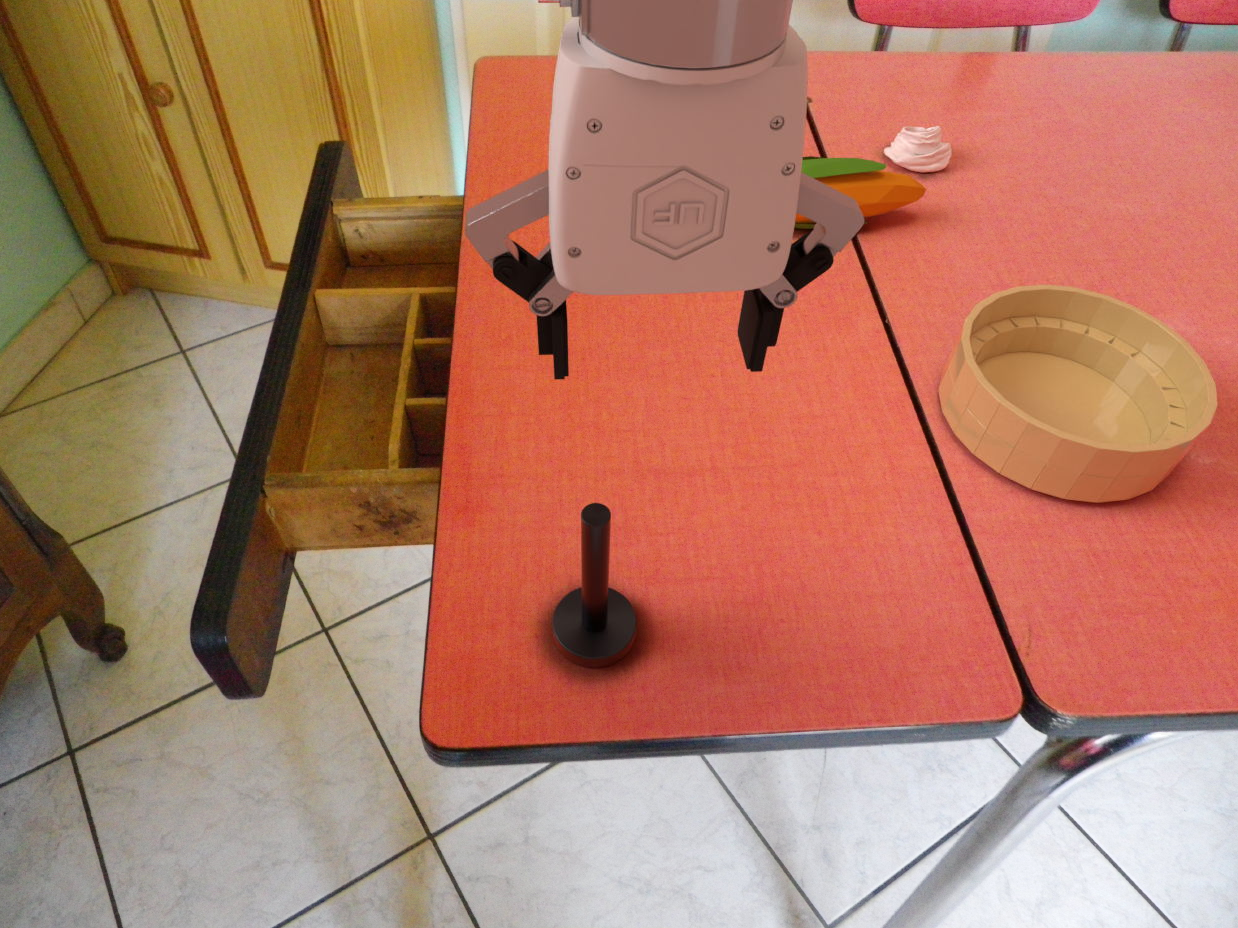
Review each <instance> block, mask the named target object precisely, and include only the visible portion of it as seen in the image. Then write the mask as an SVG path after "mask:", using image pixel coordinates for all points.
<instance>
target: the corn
mask: <svg viewBox="0 0 1238 928" xmlns="http://www.w3.org/2000/svg"><path fill="white" fill-rule="evenodd" d="M886 168H887V164H886V163H883V162H879V161H876V160H870V159H864V158H859V157H821V156H814V155H813V156H812V155H810V156H809V155H808V156H803V159H802V170H801V172H802V173H804V174H806V175H808V176H810V177H812V178H814V179H816V180H818V181H820V182H822V183H824V184H826V185H828V186H830V187H832V188H834V189H835V190H837V191H839V192H841V193H843V194H845V195H847V196H849V197H851V198H853V199H854V200H856V202H857V204H858V206H859V208H860V210H861V212H862V214H863V217H864V219H866V218H870V217H871V218H872V217H875V216H879V215H880V216H881V215H884V214H886V213H889V212H893V211H894V210H898V209H900V208H902V207H905V206H908V205H910V204H913V203H915V202H917V201H919V200H920V199H921V198H923V197H924V195H925V194H926V191H927V188H926V187H925V186H924V185H923V184H922V183H920V182H919V181H917V180H916V179H915V178H913V177H912V176H911V175H909V174H903V173H898V172H892V171H888V170H887V171H886V170H885V169H886ZM867 224H868V222H867V221H864V224H863V225H867ZM815 225H816V222H814V221H812V220H810V219H808V218H806V217H804V216H802V215H800V214H798V213H796V219H795V226H794V229H804V230H814V226H815Z"/></svg>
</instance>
